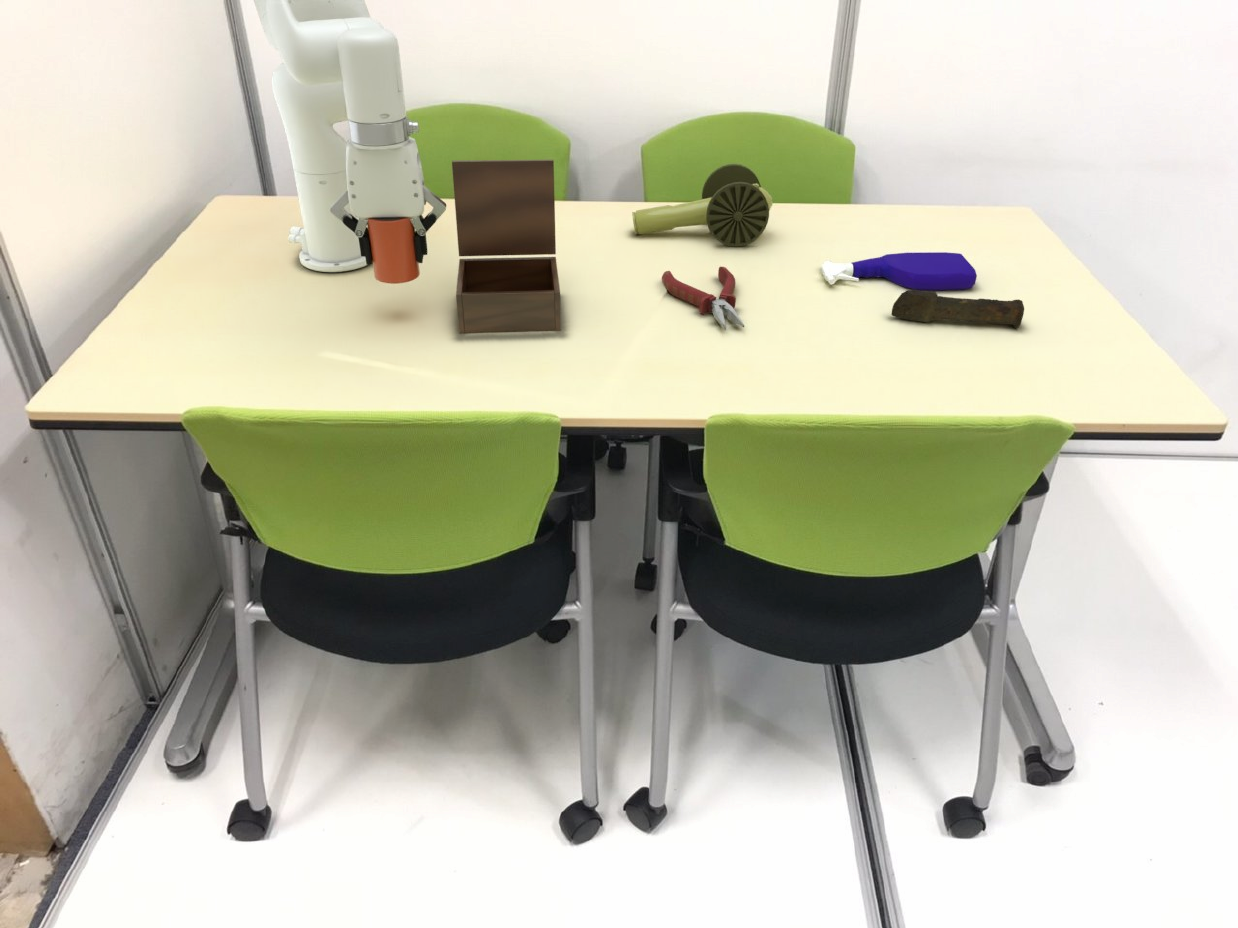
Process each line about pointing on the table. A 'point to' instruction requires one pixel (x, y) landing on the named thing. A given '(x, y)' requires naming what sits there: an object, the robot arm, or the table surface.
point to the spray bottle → (909, 270)
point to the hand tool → (956, 308)
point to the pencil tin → (393, 249)
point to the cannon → (716, 208)
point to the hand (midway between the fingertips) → (395, 259)
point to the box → (508, 295)
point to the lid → (504, 207)
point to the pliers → (708, 296)
